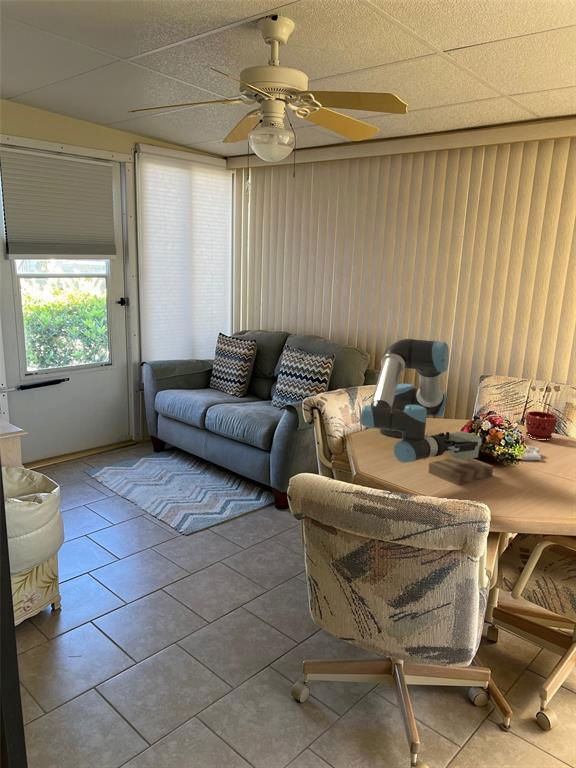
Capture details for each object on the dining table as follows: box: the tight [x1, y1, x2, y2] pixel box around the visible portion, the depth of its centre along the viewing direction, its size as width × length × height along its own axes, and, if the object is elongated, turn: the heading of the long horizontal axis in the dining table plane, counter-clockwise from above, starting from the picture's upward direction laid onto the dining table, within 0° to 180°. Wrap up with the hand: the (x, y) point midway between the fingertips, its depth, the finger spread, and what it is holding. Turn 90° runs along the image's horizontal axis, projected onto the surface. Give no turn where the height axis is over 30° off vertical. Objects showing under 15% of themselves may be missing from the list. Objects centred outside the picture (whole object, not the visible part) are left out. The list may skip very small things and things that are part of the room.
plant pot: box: [525, 410, 558, 440], centre depth 270 cm, size 13×13×12 cm
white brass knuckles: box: [521, 445, 542, 461], centre depth 243 cm, size 3×18×15 cm
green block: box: [446, 430, 482, 460], centre depth 214 cm, size 8×8×8 cm
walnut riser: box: [428, 456, 494, 486], centre depth 216 cm, size 20×14×4 cm
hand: (470, 438), depth 216 cm, fingers closed on green block, 8 cm apart
